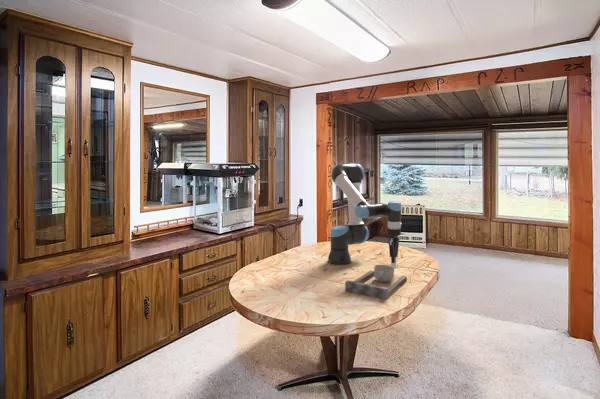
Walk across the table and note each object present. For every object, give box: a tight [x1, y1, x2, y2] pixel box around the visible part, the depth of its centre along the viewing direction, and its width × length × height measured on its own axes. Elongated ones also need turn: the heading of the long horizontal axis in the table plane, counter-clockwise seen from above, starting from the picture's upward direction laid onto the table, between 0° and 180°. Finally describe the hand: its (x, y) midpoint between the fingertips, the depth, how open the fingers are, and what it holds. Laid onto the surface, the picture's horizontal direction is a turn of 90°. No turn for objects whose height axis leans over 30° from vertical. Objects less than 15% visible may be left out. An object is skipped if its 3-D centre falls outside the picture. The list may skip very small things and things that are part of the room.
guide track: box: [344, 270, 408, 300], centre depth 195 cm, size 22×32×5 cm
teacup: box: [373, 264, 395, 283], centre depth 202 cm, size 14×11×8 cm
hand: (393, 267), depth 216 cm, fingers closed
